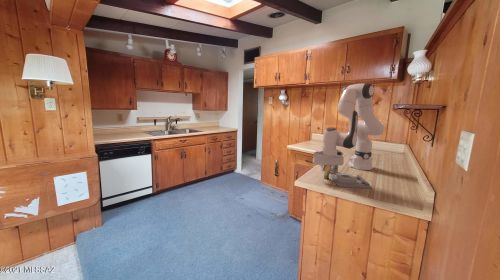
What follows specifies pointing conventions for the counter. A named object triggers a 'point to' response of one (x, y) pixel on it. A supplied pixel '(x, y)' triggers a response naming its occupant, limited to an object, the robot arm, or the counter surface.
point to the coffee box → (333, 169)
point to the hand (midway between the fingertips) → (327, 170)
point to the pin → (327, 171)
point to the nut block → (350, 181)
